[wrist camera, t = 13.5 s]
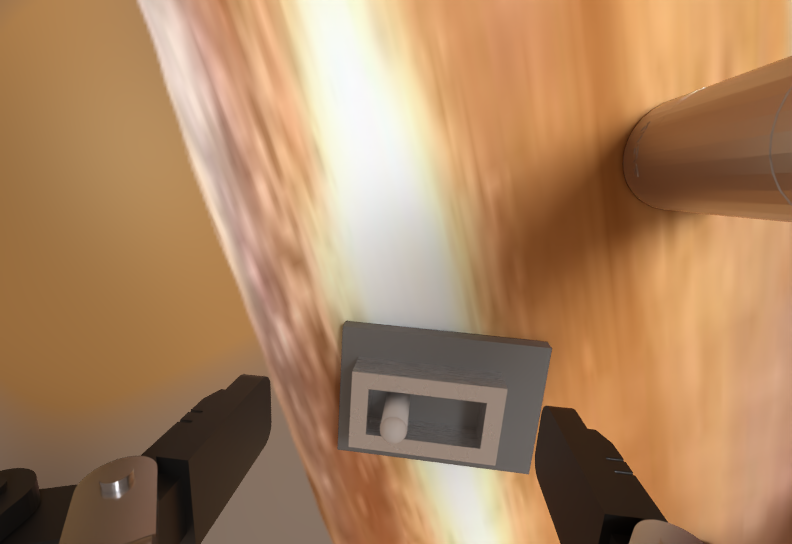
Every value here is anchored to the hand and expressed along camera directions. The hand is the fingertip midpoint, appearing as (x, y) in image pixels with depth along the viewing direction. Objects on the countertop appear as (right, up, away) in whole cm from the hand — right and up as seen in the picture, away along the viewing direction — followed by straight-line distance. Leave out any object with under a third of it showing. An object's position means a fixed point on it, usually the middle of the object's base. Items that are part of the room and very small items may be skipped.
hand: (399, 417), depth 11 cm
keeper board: (+4, -8, +27) cm, 29 cm away
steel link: (+3, -9, +26) cm, 28 cm away
